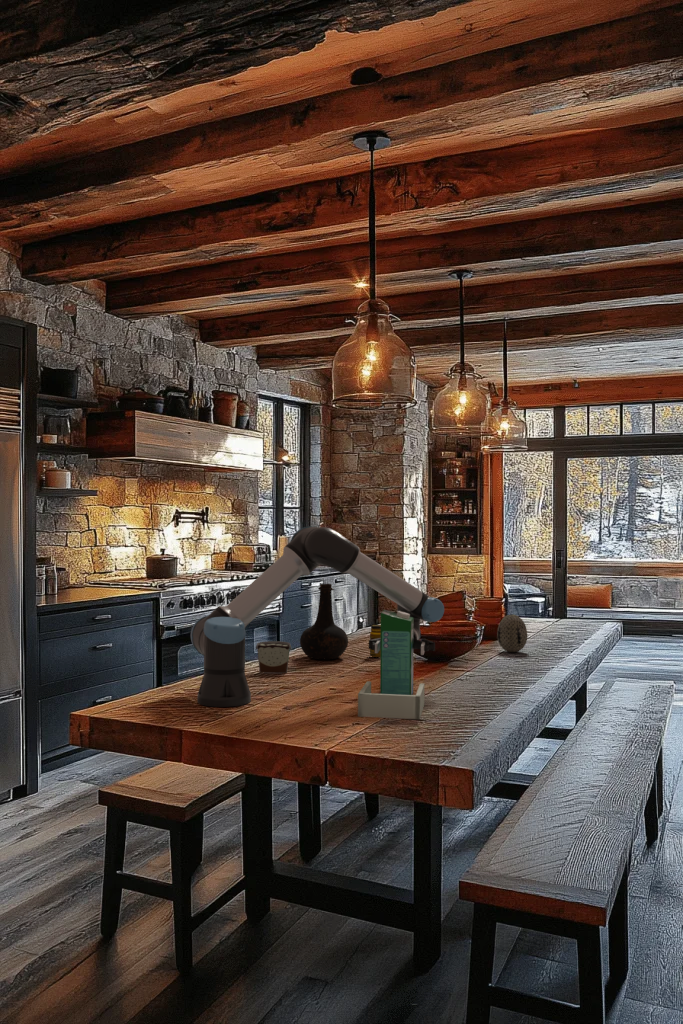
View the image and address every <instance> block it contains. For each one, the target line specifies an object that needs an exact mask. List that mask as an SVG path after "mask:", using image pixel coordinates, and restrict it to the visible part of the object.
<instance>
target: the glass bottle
mask: <svg viewBox="0 0 683 1024" xmlns="http://www.w3.org/2000/svg"><path fill="white" fill-rule="evenodd" d="M332 585H333V584H332V583H320V584H319V587H318V590H319V601H318V608H317V614H316V620H315V622H314V623H313V624H312V625H311V626H309V627H307V628H306V629H305V630H304V631H302V633H301V635H300V638H299V645H300V648H301V650H302V652H303V653H304V654H305V655H306V656H307V657H309V658H311V659H315V660H319V659H322V660H323V661H329V660H330V659H332V660H336V659H338V658H340V657H341V656H342V655H343V654H344V653H345V652H346V650H347V647H348V646H349V645H348V644H349V638H348V634H347V633H346V631H345V630H344V629H343V628H341V627H340V626H338V625H336V623H335V620H334V614H333V600H332V599H333V598H332V591H333V590H335V588H334V587H332ZM322 660H321V661H322Z"/></svg>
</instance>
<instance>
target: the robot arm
mask: <svg viewBox="0 0 683 1024" xmlns="http://www.w3.org/2000/svg"><path fill="white" fill-rule="evenodd" d="M282 550H283V551H282V552H283V553H282V555H281V556H280V557H279V558H278V559H277V560H276V561H274V562H273V563H272V564H271V565H270V566H269V567H268V568H267V569H265V571H264V572H262V573H261V574H260V575H258V577H257V578H256V579H255V580H253V581H252V582H251V583H250V584H249V585H248V586H247V587H246V588H245V589H243V590H242V591H241V592H240V593H239V594H238V595H237V596H235V598H233V600H231V601H230V602H229V603H228V604H226V605H218V606H217V607H216V608H215V609H214V610H212V611H211V613H209V614H208V615H205V616H202V617H200V618H199V619H197V620H196V621H195V622H194V624H193V625H192V627H191V629H190V641H191V644H192V646H193V648H194V649H195V651H197V653H198V654H200V655H202V656H203V677H202V679H201V683H200V686H199V689H198V692H197V696H196V697H197V698H196V699H197V704H199V705H202V706H204V707H205V706H206V707H213V708H214V707H215V708H216V707H218V708H225V707H226V708H227V707H228V708H229V707H238V706H243V705H247V704H249V703H250V702H251V701H252V697H251V696H252V694H251V691H250V686H249V683H248V680H247V677H246V663H245V662H246V635H247V631H246V627H247V626H248V625H249V624H250V623H251V622H252V621H253V620H254V619H255V618H256V617H257V616H259V615H260V614H261V613H262V612H264V610H265V609H266V608H267V607H268V606H270V604H272V603H273V602H274V601H275V600H276V599H277V598H278V597H279V596H280V595H281V594H283V592H285V591H286V590H287V589H289V587H290V586H291V585H292V584H293V583H294V582H296V581H297V580H298V579H299V578H300V577H301V576H309V575H310V574H311V573H313V571H314V570H316V569H317V568H318V567H319V566H324V567H328V568H331V569H334V570H336V571H338V572H339V573H341V574H346V573H347V574H349V575H350V576H352V577H354V578H355V579H356V580H358V581H359V582H361V583H363V584H365V585H366V586H368V587H370V588H371V589H373V590H374V591H376V592H378V593H379V594H380V595H382V596H384V597H385V598H387V599H389V600H390V601H392V602H394V603H396V605H397V607H396V608H397V610H396V611H401V612H406V613H408V614H410V617H413V618H414V630H413V650H419V651H420V655H421V656H424V654H425V652H429V651H432V652H435V651H436V642H435V641H432V640H429V639H426V638H425V637H422V634H421V633H422V632H421V621H425V622H427V623H430V622H431V623H435V622H436V623H437V622H438V621H440V620H441V619H442V618H443V616H444V613H445V606H444V604H443V602H442V601H441V600H440V599H438V598H436V597H432V596H430V595H428V594H427V593H425V592H423V591H422V590H420V589H419V588H418V587H416V586H415V585H413V584H411V583H410V582H408V581H406V580H405V579H403V578H402V577H400V576H398V575H397V574H396V573H394V572H392V571H391V570H389V569H388V568H386V567H384V566H383V565H381V564H380V563H378V562H376V560H374V559H373V558H370V557H369V556H367V555H366V554H364V553H363V552H361V549H360V547H359V546H358V545H357V544H355V543H354V542H352V541H350V540H349V539H348V538H346V537H345V536H343V535H342V534H341V533H339V532H338V531H336V530H335V529H333V528H330V527H326V526H324V527H322V526H305V527H302V528H299V529H298V530H296V531H295V532H294V533H293V535H292V536H291V538H290V541H289V542H288V543H287V544H286V545H285V546H284V547H283V549H282ZM421 637H422V638H421ZM372 648H373V649H374V651H375V653H378V652H379V651H380V649H381V638H378V639H373V640H370V639H369V640H368V649H369V650H370V649H372Z"/></svg>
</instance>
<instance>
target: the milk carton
mask: <svg viewBox="0 0 683 1024" xmlns="http://www.w3.org/2000/svg"><path fill="white" fill-rule="evenodd" d="M396 611H397V610H396ZM380 625H381V653H380V658H379V659H380V663H379V664H380V667H379V669H380V674H379V675H380V676H379V680H380V682H379V683H380V686H379V688H380V689H379V691H380V692H379V694H396V695H414V649H413V630H414V618H413V617H410V614H408V613H406V612H401V611H397V612H394V611H391V610H387V609H383V610H382V612H381V613H380Z"/></svg>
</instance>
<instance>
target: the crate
mask: <svg viewBox="0 0 683 1024" xmlns="http://www.w3.org/2000/svg"><path fill="white" fill-rule="evenodd" d="M415 693H416V694H412V695H396V694H380V693H372V681H370V680H369V681H368V680H367V681H366V682H365V684H364V685H363V687H362V688H361V689H360V690H359V692H358V693H357V717H359V718H360V717H364V718H366V717H367V718H380V719H381V718H384V719H385V718H386V719H402V720H404V719H405V720H421V717H422V714H423V711H424V708H423V707H425V683H419V685H418V688H417V691H416V692H415Z"/></svg>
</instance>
